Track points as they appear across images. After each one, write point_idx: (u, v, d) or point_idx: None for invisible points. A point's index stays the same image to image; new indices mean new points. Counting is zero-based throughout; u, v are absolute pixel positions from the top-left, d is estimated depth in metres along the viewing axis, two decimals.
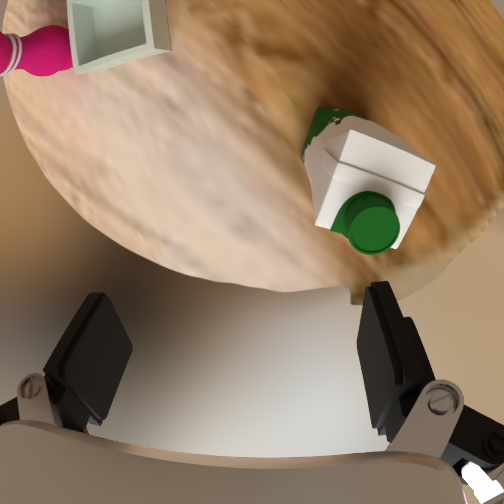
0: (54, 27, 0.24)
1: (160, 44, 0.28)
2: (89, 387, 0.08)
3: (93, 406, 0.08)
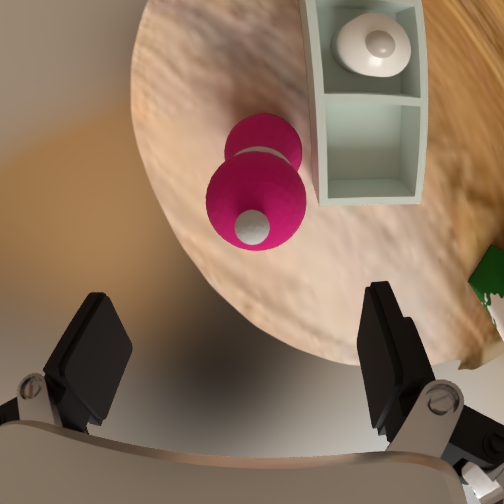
0: (287, 126, 0.26)
1: None
2: (89, 387, 0.08)
3: (93, 406, 0.08)
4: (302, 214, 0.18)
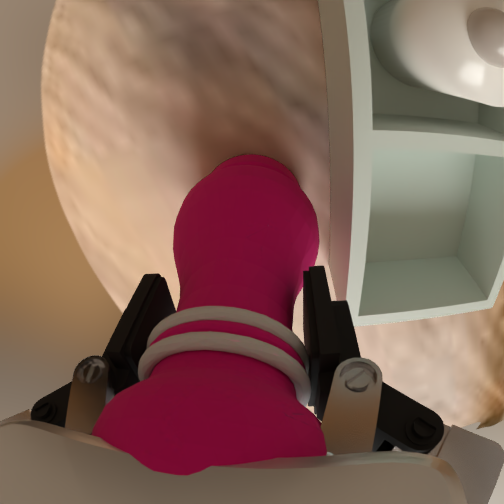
0: (292, 196, 0.13)
1: None
2: None
3: None
4: None
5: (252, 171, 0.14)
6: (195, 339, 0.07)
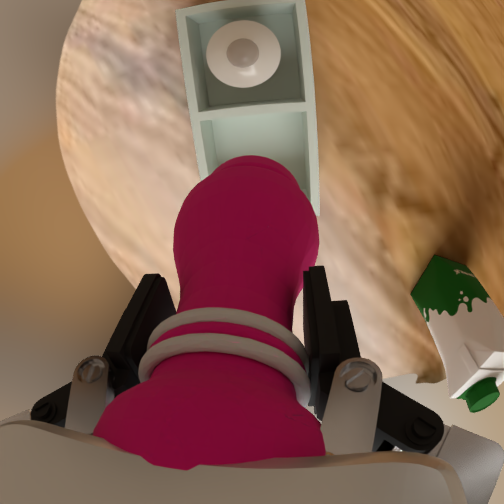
0: (292, 197, 0.13)
1: None
2: None
3: None
4: None
5: (252, 172, 0.14)
6: (195, 341, 0.07)
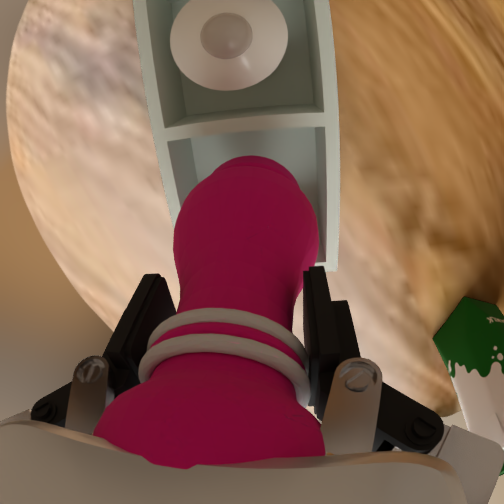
0: (292, 197, 0.13)
1: None
2: None
3: None
4: None
5: (252, 172, 0.14)
6: (195, 341, 0.07)
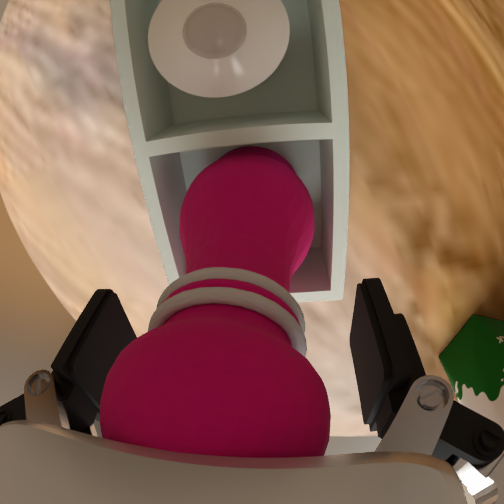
0: (291, 182, 0.14)
1: None
2: (97, 383, 0.09)
3: None
4: None
5: (255, 159, 0.15)
6: (205, 292, 0.08)
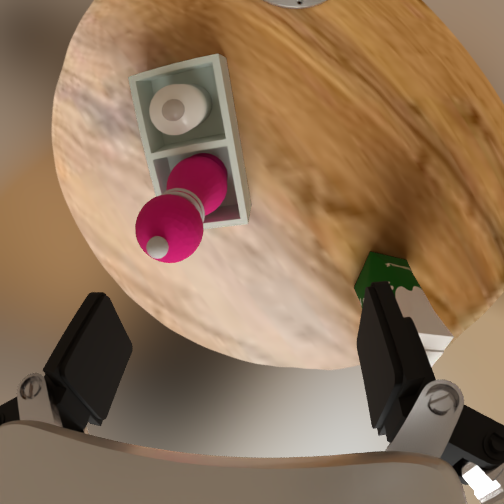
0: (211, 166, 0.34)
1: (248, 212, 0.40)
2: (89, 387, 0.08)
3: (93, 406, 0.08)
4: (196, 237, 0.26)
5: (196, 158, 0.34)
6: (168, 192, 0.28)
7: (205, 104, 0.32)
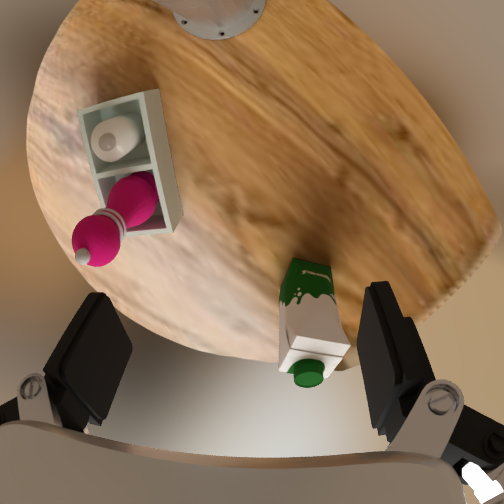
0: (140, 185, 0.40)
1: (176, 221, 0.46)
2: (89, 387, 0.08)
3: (93, 406, 0.08)
4: (111, 249, 0.32)
5: (130, 178, 0.40)
6: (98, 212, 0.34)
7: (136, 134, 0.37)
